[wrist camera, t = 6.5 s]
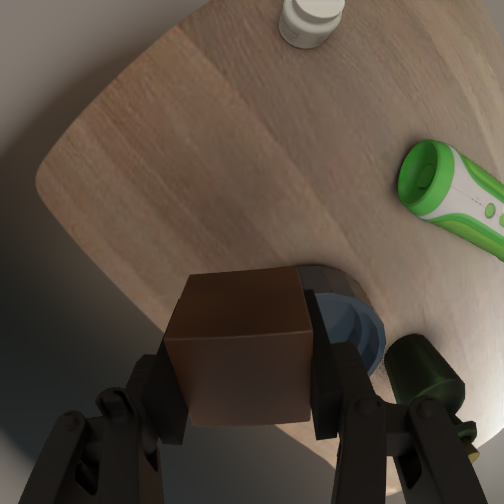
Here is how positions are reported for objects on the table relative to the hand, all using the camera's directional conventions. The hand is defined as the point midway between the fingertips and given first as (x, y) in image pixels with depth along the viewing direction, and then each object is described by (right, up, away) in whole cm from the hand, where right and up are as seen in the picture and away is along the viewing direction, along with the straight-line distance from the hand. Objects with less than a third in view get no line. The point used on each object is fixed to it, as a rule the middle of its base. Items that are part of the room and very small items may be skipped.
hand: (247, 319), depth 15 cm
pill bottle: (+5, +23, +7) cm, 24 cm away
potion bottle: (+20, -10, +21) cm, 30 cm away
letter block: (0, 0, 0) cm, 0 cm away
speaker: (+22, +9, +13) cm, 27 cm away
